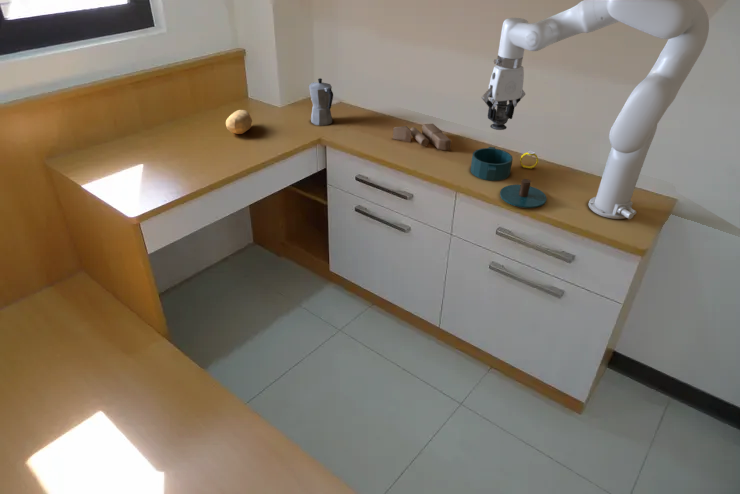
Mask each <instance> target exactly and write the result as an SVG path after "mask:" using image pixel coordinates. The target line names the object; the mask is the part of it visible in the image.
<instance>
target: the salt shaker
mask: <svg viewBox="0 0 740 494" xmlns="http://www.w3.org/2000/svg"><path fill="white" fill-rule="evenodd" d="M507 106H508V101H498V103H497V105H496V115H495V120H494V121H491V122H492V124H490V128H491V129H493V130H496V131H504V130H506V129H507V126H506V125H505V124H507V123H508V121H509V120H510V119H509V116H508V115H506V109H507Z"/></svg>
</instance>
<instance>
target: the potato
mask: <svg viewBox="0 0 740 494" xmlns="http://www.w3.org/2000/svg"><path fill="white" fill-rule="evenodd" d="M252 124H253V119H252V116H251V114H250V112H248V111H247V110H245V109H237V110H236V111H234V112H232V113H231V114H230V115H229V116H228V117H227V118H226V120H225V127H226V129H227V130H228V131H229V132H230V133H233V134H235V135H241V134H244V133H247V131H248V130H250V129H251V128H252Z"/></svg>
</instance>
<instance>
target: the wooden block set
mask: <svg viewBox="0 0 740 494" xmlns="http://www.w3.org/2000/svg"><path fill="white" fill-rule="evenodd" d="M412 138H414V140H415V141H416V142H417V143H419V145H420V146H421V147H427V146H428V145H429V143H430V144H432V145H433V146H435V147H436V148H437V149H438V150H442V151H450V150H451V144H452V140H451V139H450V138H449V137H448V136H447V135H446V134H444V132H443V131H442V130H441V129H440V128H439V127H437V125H436V124H434V123H425V124H422V127H421V131H420V130H418V128H416V127H414V126H412V127H411V128H410V127H408V126H407V125H403V126H394V127H393V128H392V140H395V141H402V142H407V143H411V139H412Z"/></svg>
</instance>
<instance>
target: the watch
mask: <svg viewBox="0 0 740 494" xmlns="http://www.w3.org/2000/svg"><path fill="white" fill-rule="evenodd" d="M527 155H528V156H531V157H532V156H534V157H535V158H536V161H535V163H534V164H532V165H531V166H530V165H524V164H523V162H522V161H523V158H524V157H526V156H527ZM519 163H520V166H521V167H522V168H524V169H530V170H532V169H534V168H536V166H537V165H538V164H539V157H538V155H537V154H536V152H535V151H533V150H526V152H524V153H523V154H522V155H520V158H519Z"/></svg>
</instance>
